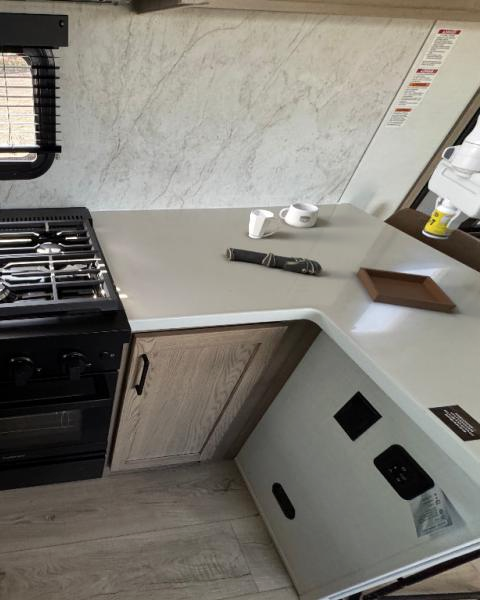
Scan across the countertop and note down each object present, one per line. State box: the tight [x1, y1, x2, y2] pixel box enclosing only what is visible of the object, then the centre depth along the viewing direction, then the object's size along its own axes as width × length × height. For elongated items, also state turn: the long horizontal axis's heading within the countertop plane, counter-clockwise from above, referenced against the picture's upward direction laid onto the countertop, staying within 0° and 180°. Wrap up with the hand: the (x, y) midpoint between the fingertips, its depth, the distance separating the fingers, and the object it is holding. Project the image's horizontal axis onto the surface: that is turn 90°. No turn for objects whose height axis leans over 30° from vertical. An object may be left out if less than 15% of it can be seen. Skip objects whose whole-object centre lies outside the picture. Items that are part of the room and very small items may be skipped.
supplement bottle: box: [422, 198, 457, 240], centre depth 78 cm, size 5×5×8 cm
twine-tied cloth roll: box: [225, 247, 323, 274], centre depth 99 cm, size 4×5×25 cm
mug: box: [278, 202, 320, 228], centre depth 123 cm, size 12×10×6 cm
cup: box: [248, 209, 282, 240], centre depth 113 cm, size 7×10×8 cm
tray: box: [356, 266, 457, 314], centre depth 88 cm, size 16×14×2 cm
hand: (442, 222), depth 78 cm, fingers closed on supplement bottle, 5 cm apart
